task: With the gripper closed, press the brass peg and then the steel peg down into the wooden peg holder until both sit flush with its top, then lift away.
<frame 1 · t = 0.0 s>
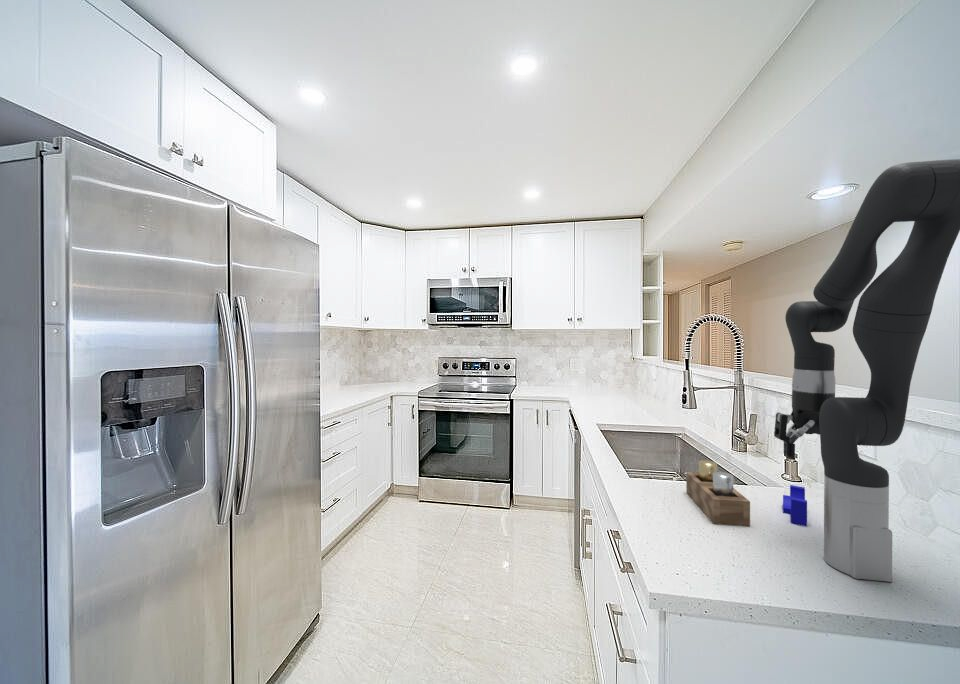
hand: (811, 459, 91), 17 cm above the countertop, tool pointing down, fingers open, 8 cm apart
steel peg: (723, 485, 101), point 8 cm above the countertop, slide at 4.5 cm
blue block piece: (794, 516, 101), on the countertop
wooden peg holder: (715, 507, 105), on the countertop
brass peg: (707, 472, 110), point 8 cm above the countertop, slide at 4.5 cm
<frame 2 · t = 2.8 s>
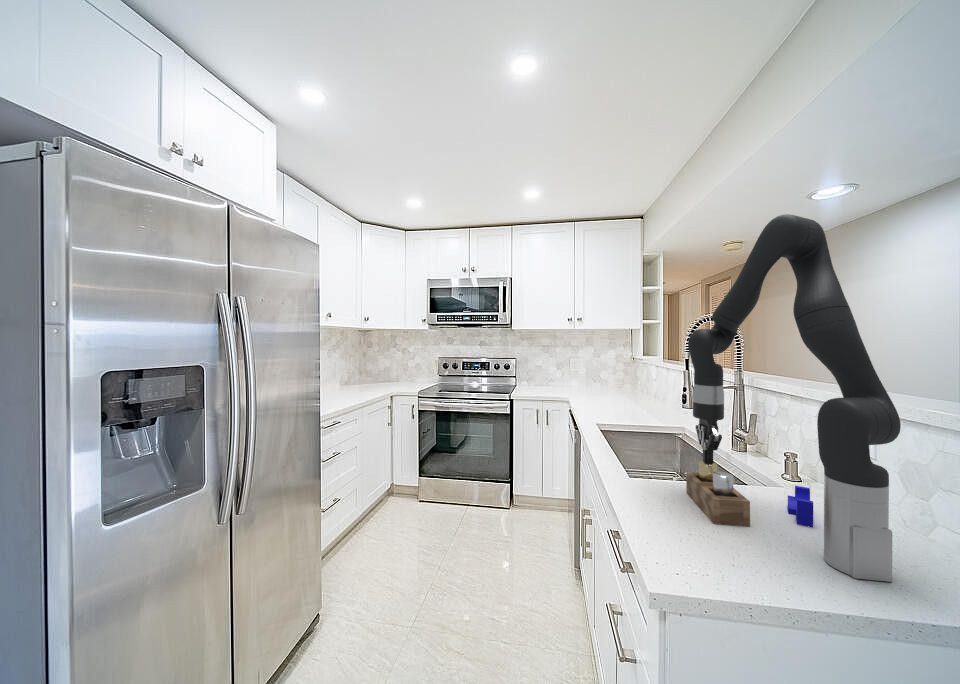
hand: (707, 463, 110), 10 cm above the countertop, tool pointing down, fingers closed
blue block piece: (799, 517, 101), on the countertop
brass peg: (707, 473, 110), point 8 cm above the countertop, slide at 4.3 cm, touching gripper
everything else where it was.
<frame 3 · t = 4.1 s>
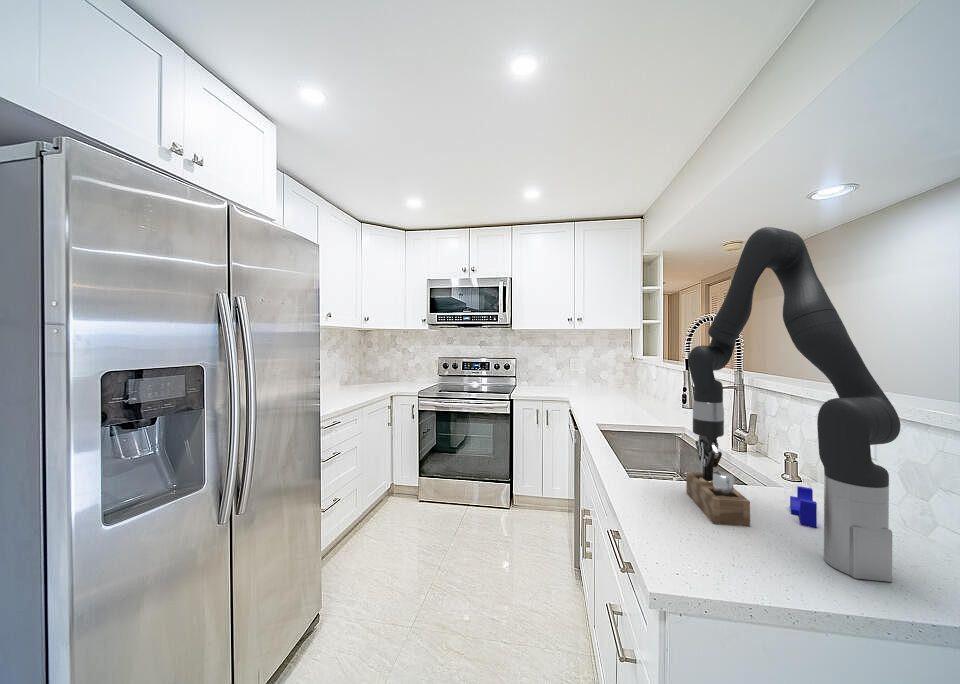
hand: (707, 479, 111), 6 cm above the countertop, tool pointing down, fingers closed
brass peg: (707, 489, 110), point 3 cm above the countertop, slide at -0.2 cm, touching gripper
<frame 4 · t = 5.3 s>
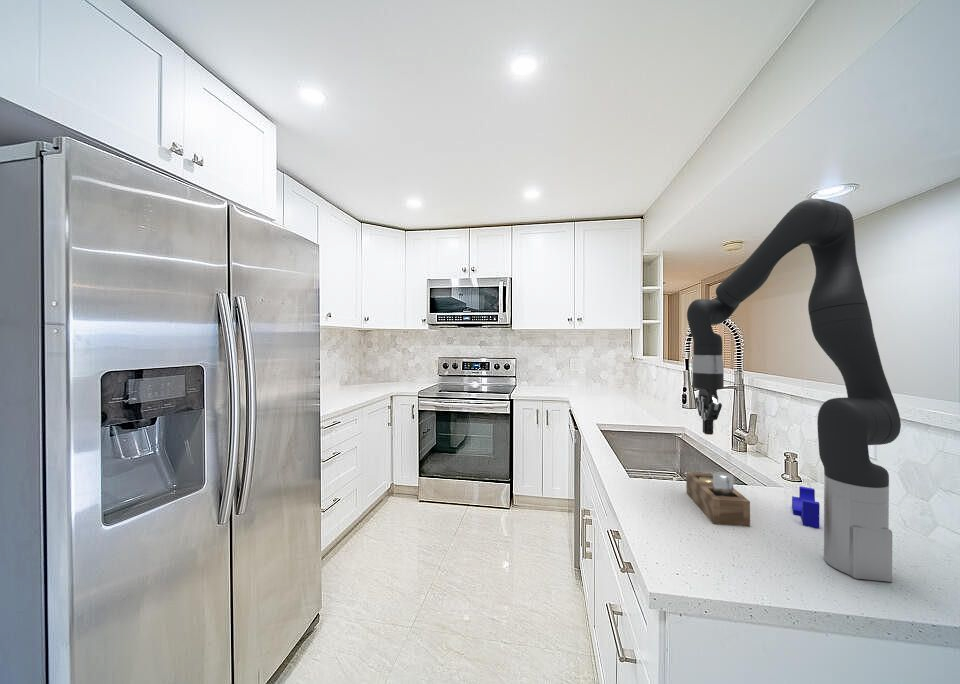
hand: (707, 433, 110), 19 cm above the countertop, tool pointing down, fingers closed
brass peg: (707, 489, 110), point 3 cm above the countertop, slide at -0.1 cm
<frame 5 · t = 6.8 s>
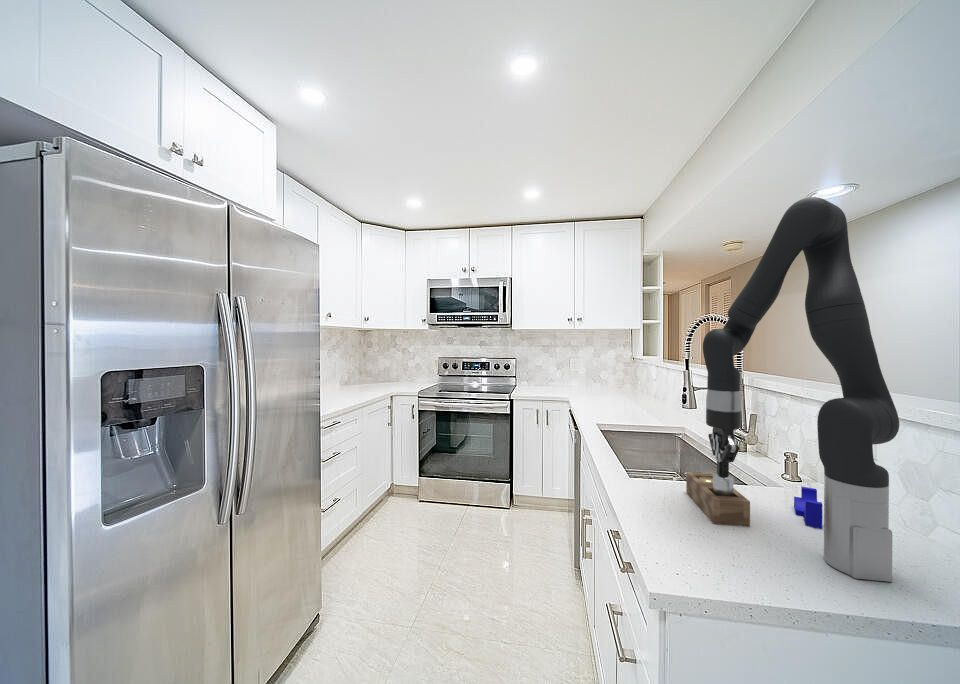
hand: (722, 475, 101), 10 cm above the countertop, tool pointing down, fingers closed
steel peg: (723, 487, 101), point 7 cm above the countertop, slide at 4.1 cm, touching gripper
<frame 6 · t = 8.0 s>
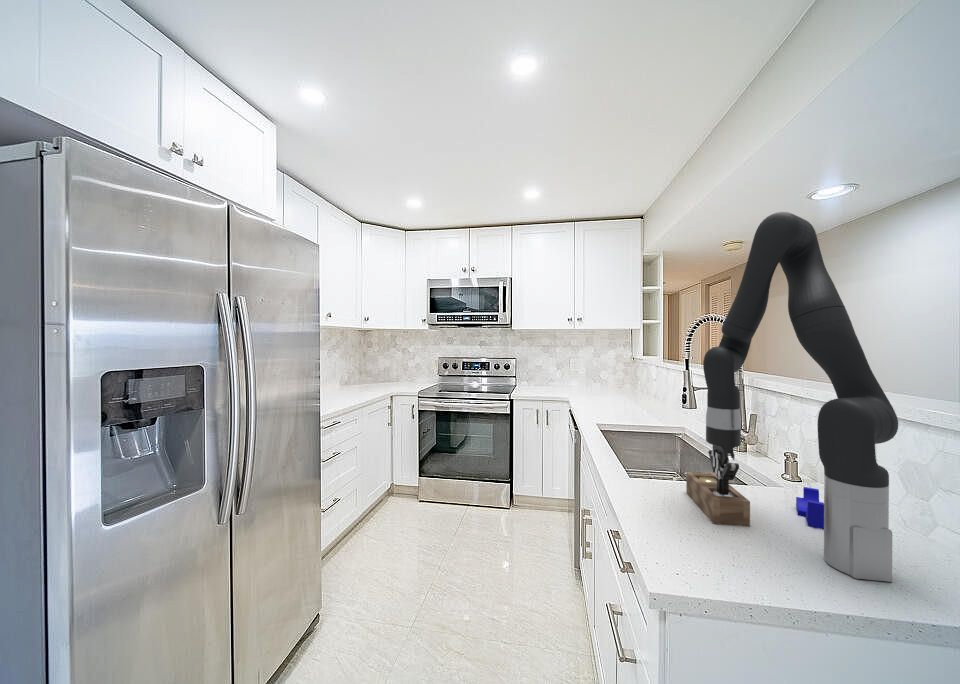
hand: (722, 493, 101), 6 cm above the countertop, tool pointing down, fingers closed
steel peg: (722, 504, 101), point 3 cm above the countertop, slide at -0.3 cm, touching gripper
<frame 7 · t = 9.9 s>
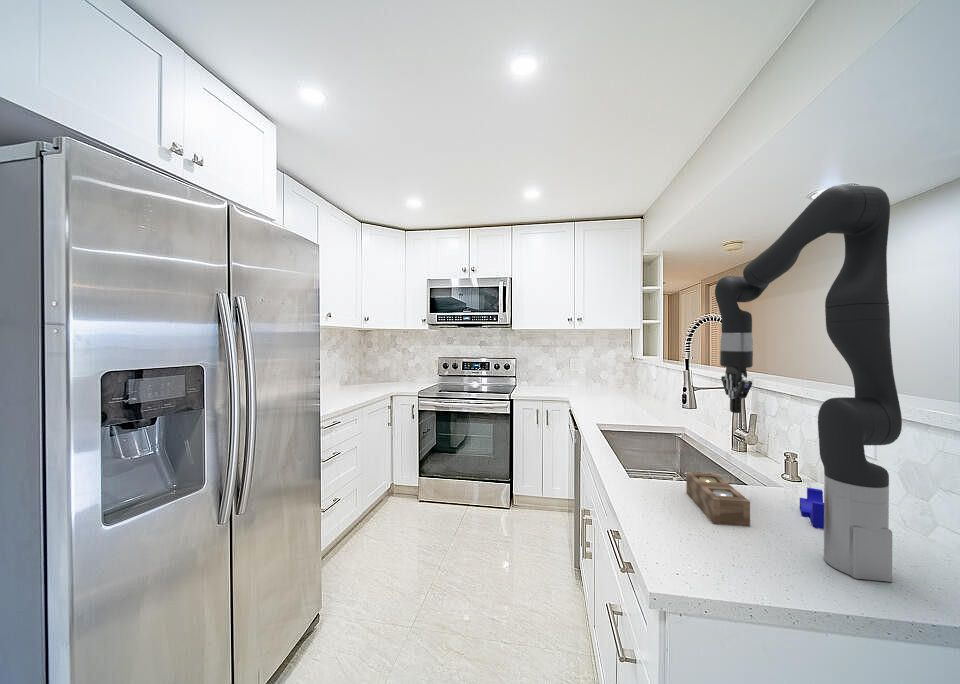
hand: (735, 412, 109), 25 cm above the countertop, tool pointing down, fingers closed
steel peg: (722, 503, 101), point 3 cm above the countertop, slide at -0.1 cm
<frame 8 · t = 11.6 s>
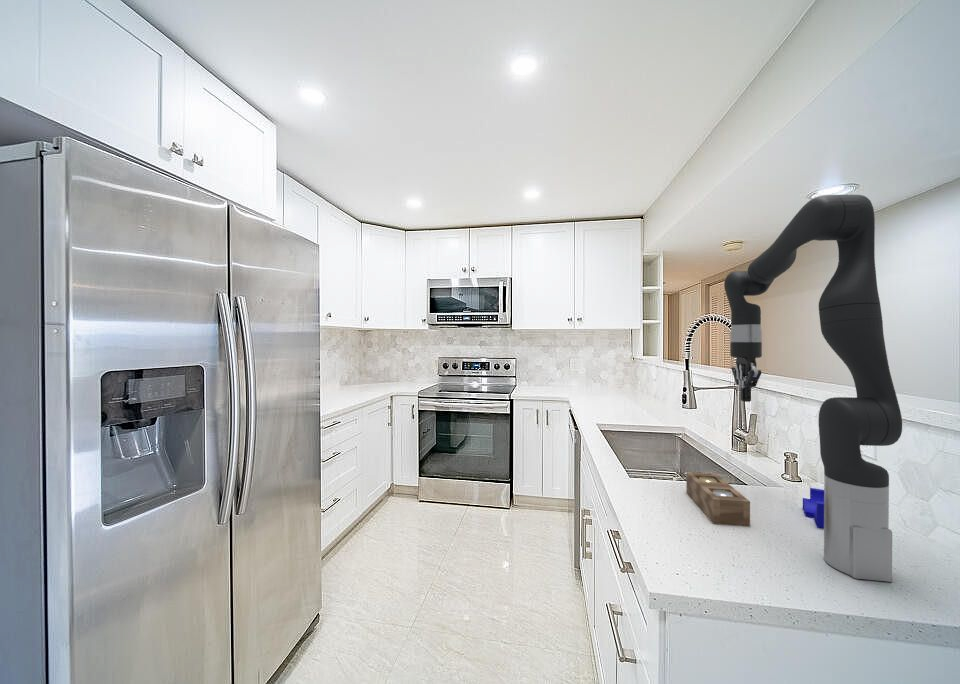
hand: (745, 401, 114), 27 cm above the countertop, tool pointing down, fingers closed
at the end: brass peg slide at -0.1 cm; steel peg slide at -0.1 cm; blue block piece moved 4.7 cm from its start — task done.
